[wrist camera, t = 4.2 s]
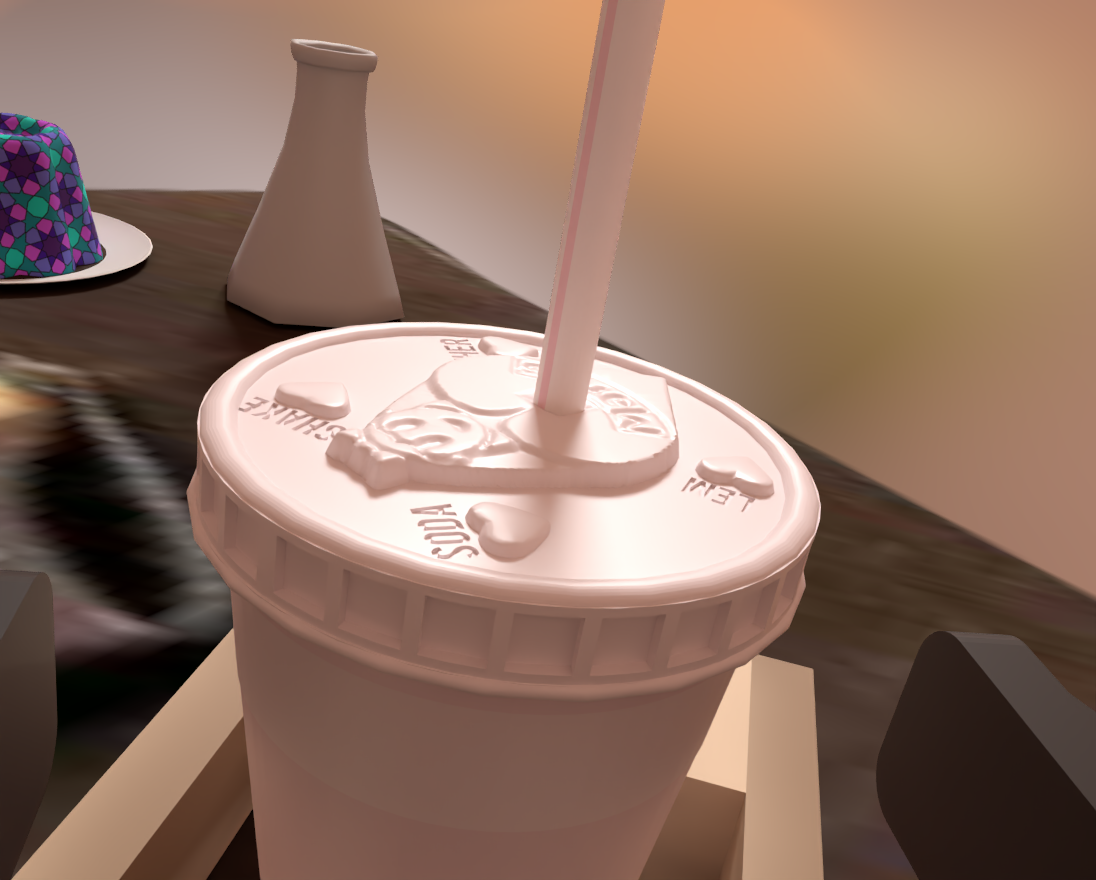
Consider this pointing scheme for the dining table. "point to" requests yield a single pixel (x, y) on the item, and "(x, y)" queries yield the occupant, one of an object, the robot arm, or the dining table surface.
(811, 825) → the collar
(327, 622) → the smoothie
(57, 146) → the pudding
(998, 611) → the dining table surface
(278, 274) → the flask
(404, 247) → the dining table surface
